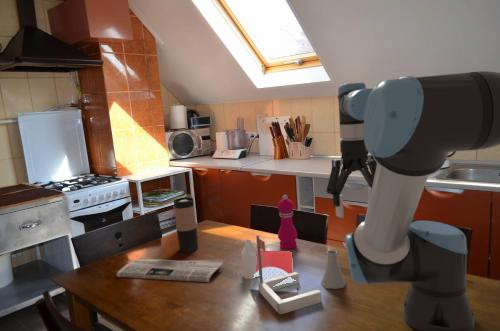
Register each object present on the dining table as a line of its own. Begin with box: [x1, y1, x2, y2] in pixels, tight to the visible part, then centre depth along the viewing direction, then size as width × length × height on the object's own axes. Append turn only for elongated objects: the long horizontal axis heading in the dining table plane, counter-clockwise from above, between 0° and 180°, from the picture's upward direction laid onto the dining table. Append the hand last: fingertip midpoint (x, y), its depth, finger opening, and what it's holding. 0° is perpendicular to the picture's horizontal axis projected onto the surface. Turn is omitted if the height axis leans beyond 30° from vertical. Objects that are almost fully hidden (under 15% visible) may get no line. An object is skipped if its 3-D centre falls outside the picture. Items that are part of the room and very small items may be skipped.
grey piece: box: [240, 239, 258, 280], centre depth 119 cm, size 6×12×6 cm
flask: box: [320, 249, 347, 290], centre depth 109 cm, size 7×7×10 cm
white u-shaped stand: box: [256, 235, 323, 315], centre depth 104 cm, size 14×12×17 cm
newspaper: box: [116, 257, 225, 283], centre depth 128 cm, size 35×12×4 cm, turn 74°
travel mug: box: [173, 196, 199, 253], centre depth 146 cm, size 8×8×20 cm
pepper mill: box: [277, 194, 298, 251], centre depth 140 cm, size 7×7×20 cm
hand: (356, 213), depth 110 cm, fingers open, 11 cm apart
